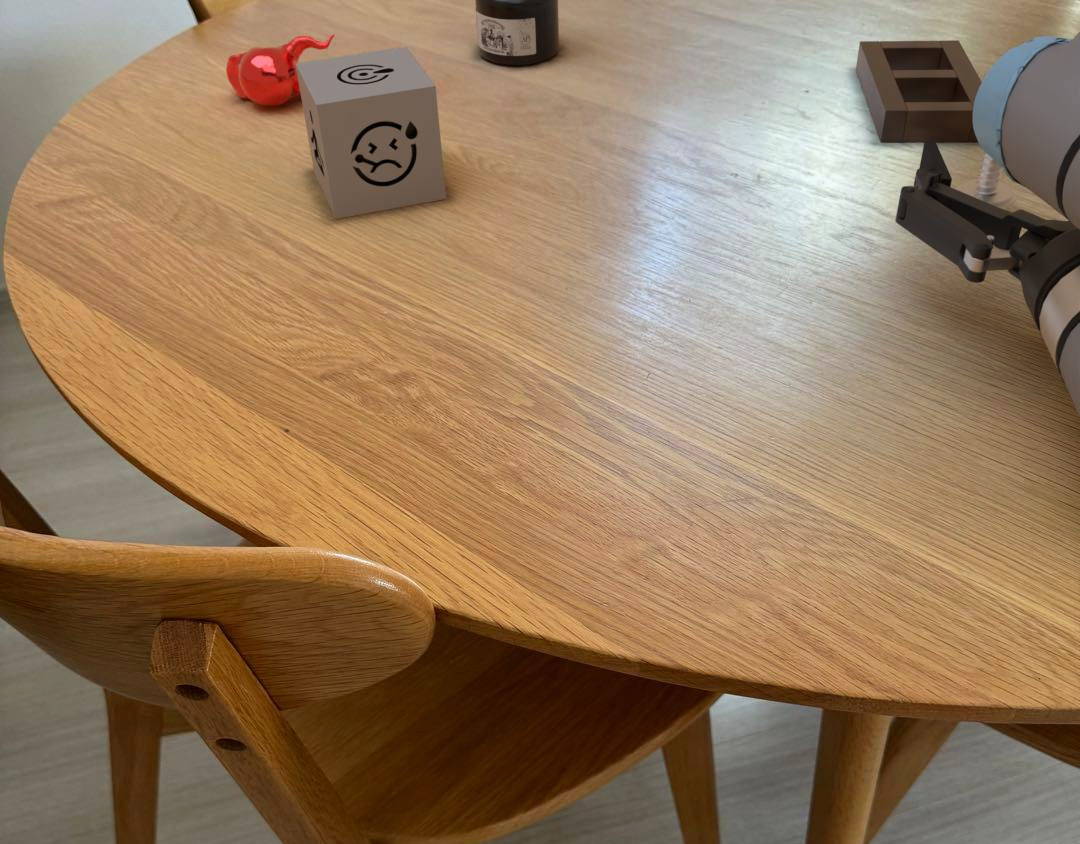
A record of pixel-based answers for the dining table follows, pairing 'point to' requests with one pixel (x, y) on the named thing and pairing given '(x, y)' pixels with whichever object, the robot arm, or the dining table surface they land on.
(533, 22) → the ink bottle
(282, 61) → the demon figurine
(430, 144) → the icon cube
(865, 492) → the dining table surface
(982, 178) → the screw
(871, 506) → the dining table surface
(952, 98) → the brown divided frame
